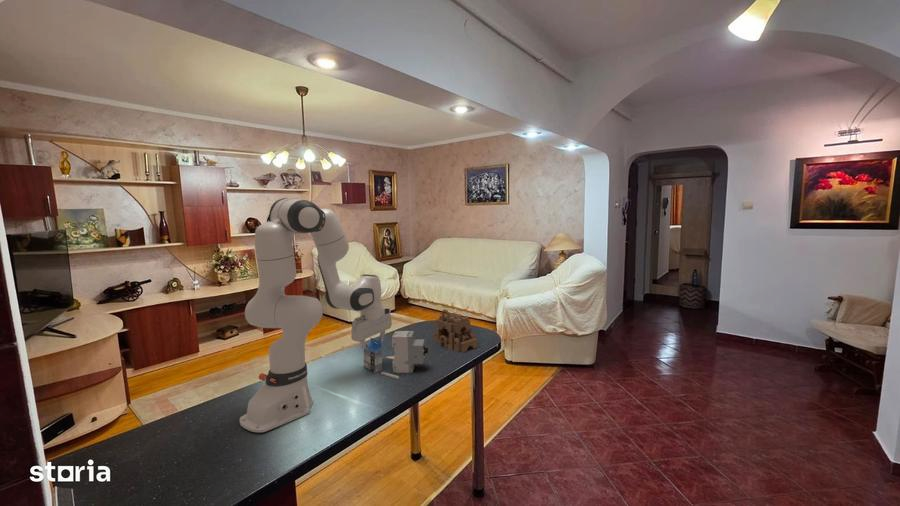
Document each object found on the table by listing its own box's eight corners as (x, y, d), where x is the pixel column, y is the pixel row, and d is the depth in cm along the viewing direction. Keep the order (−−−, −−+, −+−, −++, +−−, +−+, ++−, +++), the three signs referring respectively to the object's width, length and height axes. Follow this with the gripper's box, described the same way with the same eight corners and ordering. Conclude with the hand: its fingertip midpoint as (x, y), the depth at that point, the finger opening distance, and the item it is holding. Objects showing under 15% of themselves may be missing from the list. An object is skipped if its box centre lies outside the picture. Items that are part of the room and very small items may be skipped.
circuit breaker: (427, 372, 145) (426, 336, 144) (392, 372, 145) (391, 337, 144) (429, 364, 152) (428, 330, 151) (396, 365, 153) (394, 331, 151)
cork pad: (400, 361, 157) (400, 360, 157) (383, 357, 162) (383, 356, 162) (410, 356, 162) (410, 355, 162) (393, 352, 168) (393, 351, 168)
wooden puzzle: (480, 346, 173) (479, 309, 171) (458, 354, 164) (457, 314, 162) (450, 336, 190) (449, 301, 188) (429, 342, 180) (428, 306, 178)
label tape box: (363, 367, 151) (362, 339, 150) (371, 364, 154) (370, 336, 153) (374, 373, 145) (373, 344, 144) (383, 370, 148) (382, 341, 147)
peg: (397, 379, 139) (397, 377, 139) (380, 374, 144) (380, 372, 144) (399, 378, 140) (399, 375, 140) (382, 373, 145) (382, 370, 145)
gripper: (357, 320, 137) (359, 354, 138) (393, 307, 154) (394, 338, 156) (346, 318, 140) (348, 351, 142) (382, 306, 157) (384, 336, 159)
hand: (373, 344), depth 149 cm, fingers open, 8 cm apart
